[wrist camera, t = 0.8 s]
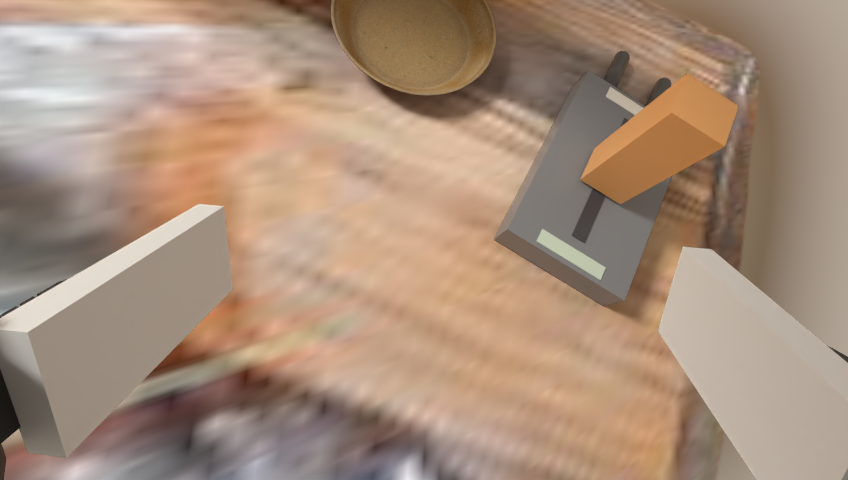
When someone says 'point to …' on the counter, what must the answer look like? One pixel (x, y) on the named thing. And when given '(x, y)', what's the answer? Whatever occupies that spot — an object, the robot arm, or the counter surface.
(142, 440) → the counter surface
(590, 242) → the switch box
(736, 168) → the counter surface
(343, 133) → the counter surface
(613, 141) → the breaker handle
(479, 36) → the plant saucer
